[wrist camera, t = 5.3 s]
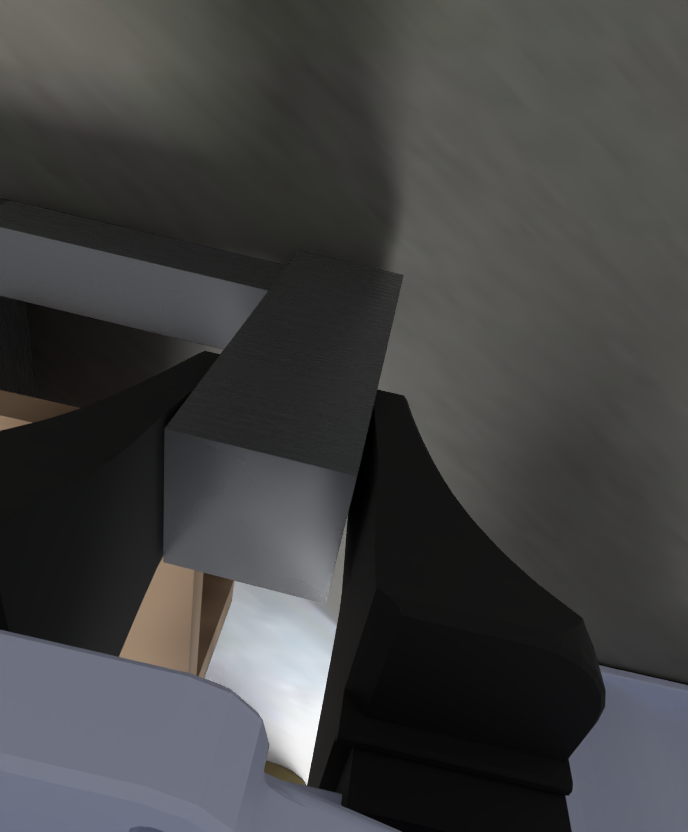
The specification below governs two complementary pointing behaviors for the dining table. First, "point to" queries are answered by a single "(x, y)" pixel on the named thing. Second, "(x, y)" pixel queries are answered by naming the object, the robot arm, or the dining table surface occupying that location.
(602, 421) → the dining table surface
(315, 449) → the grey angled block
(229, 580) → the cubby
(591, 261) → the dining table surface
